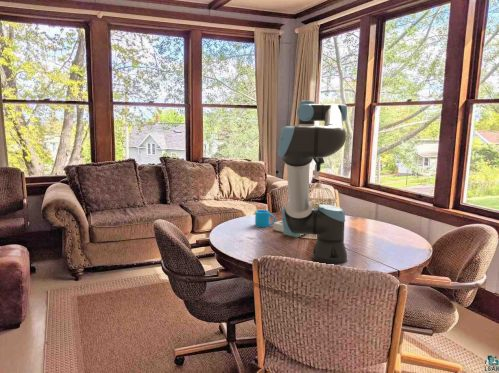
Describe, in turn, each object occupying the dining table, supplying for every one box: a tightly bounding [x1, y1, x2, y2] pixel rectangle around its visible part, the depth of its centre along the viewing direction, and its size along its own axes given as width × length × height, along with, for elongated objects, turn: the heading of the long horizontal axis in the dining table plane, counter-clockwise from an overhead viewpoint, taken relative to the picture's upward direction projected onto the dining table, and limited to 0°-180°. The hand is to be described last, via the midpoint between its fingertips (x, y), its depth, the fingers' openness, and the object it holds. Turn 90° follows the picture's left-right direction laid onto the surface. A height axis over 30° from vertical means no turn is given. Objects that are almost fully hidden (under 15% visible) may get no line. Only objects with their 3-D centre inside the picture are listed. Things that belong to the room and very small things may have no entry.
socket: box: [282, 230, 301, 238], centre depth 219 cm, size 9×9×6 cm
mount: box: [273, 220, 284, 233], centre depth 227 cm, size 7×7×4 cm
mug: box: [254, 209, 276, 228], centre depth 236 cm, size 12×8×8 cm
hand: (304, 176), depth 202 cm, fingers open, 13 cm apart
